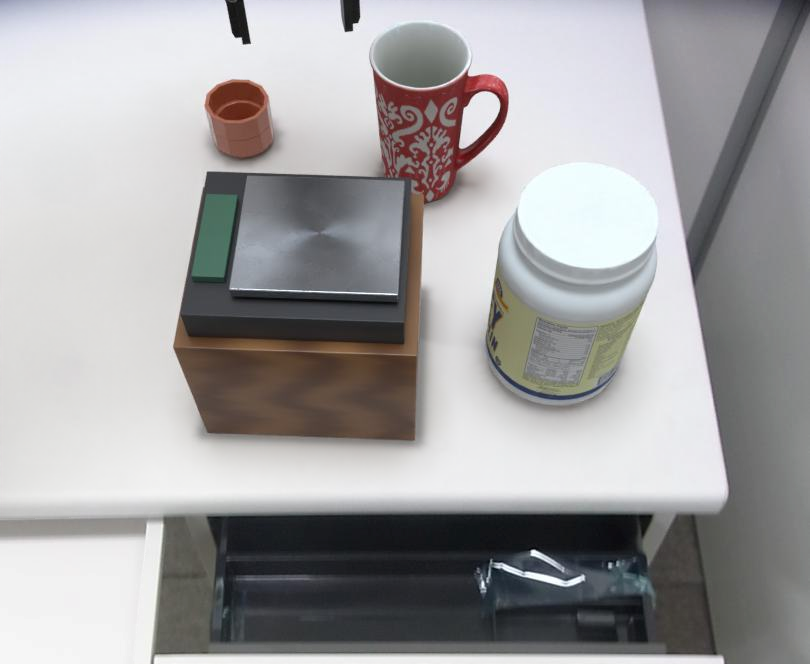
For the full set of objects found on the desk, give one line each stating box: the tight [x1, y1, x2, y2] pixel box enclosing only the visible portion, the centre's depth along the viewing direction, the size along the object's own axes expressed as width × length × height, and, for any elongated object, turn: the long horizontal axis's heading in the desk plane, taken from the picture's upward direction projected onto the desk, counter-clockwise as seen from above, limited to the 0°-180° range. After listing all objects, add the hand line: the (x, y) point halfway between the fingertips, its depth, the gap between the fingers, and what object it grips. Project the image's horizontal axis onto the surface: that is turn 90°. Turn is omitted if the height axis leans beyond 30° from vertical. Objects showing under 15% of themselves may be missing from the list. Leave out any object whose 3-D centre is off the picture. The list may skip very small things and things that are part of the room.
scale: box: [180, 170, 412, 344], centre depth 63 cm, size 16×14×3 cm
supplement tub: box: [484, 161, 660, 406], centre depth 68 cm, size 12×12×17 cm
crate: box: [172, 186, 425, 441], centre depth 70 cm, size 18×16×12 cm
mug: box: [368, 19, 510, 203], centre depth 78 cm, size 13×9×14 cm
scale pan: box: [229, 176, 404, 302], centre depth 62 cm, size 12×11×1 cm
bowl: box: [204, 78, 275, 159], centre depth 85 cm, size 6×6×4 cm
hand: (296, 32), depth 70 cm, fingers open, 8 cm apart
